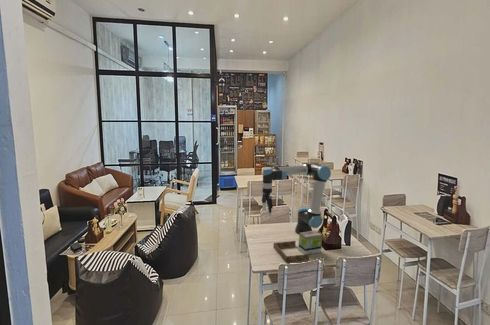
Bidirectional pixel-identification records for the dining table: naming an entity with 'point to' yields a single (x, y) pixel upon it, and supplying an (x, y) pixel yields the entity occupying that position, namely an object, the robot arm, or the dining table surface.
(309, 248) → the tea box
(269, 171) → the robot arm
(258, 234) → the dining table surface
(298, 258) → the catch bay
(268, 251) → the dining table surface
